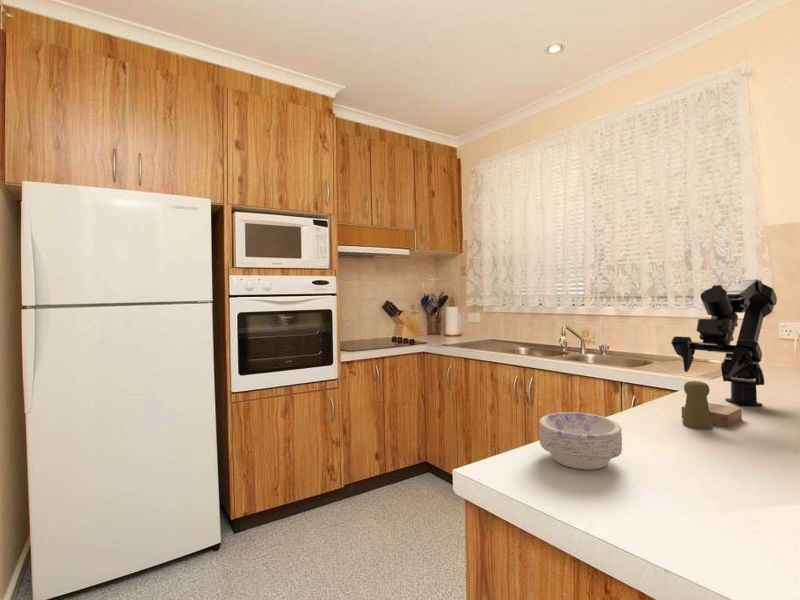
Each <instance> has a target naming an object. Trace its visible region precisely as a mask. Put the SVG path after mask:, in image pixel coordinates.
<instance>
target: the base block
mask: <svg viewBox="0 0 800 600" xmlns="http://www.w3.org/2000/svg"><path fill="white" fill-rule="evenodd" d="M708 406H709V412H710V417H711V423H712V425H715V426H718V427H724V428H729V427H731V426H733V425H735V424H736V423H739V422H740V421H742V419H743V416H742V415H743V413H742V411H743V410H742V407H739V406H738V407H737V406H732V405H725V404H718V403H714V402H712V403H711V402H708ZM684 411H685V405H683V406H681V419H683V418H684Z"/></svg>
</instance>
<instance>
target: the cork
mask: <svg viewBox="0 0 800 600" xmlns="http://www.w3.org/2000/svg"><path fill="white" fill-rule="evenodd" d="M683 390H684V393H685V394H686V396H685V397H686V399H685V405H684V406H685V411H684V418H682V426H684V427H686V428H689V429H693V430H701V431H702V430H703V431H704V430H705V431H707V430H712V429H713V424H712V423H711V417H710V412H709V406H708V403H709V402H708V395H709V394H710V387H709V385H708V384H707V383H705V382H702V381H698V380H697V381H695V380H694V381H692V380H691V381H687V382H685V383H684V385H683Z"/></svg>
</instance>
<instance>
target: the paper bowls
mask: <svg viewBox="0 0 800 600" xmlns="http://www.w3.org/2000/svg"><path fill="white" fill-rule="evenodd" d="M538 425H539V427H538V428H539V433H538V435H539V444H540V447H541V448H542V449H543V450H544V451H546V452H548V453H549V454H550V455H551V458H552V459H553V460H554V461H556V463H558V464H560V465H563V466H564V467H567V468H571V469H574V470H575V469H576V470H585V471H587V470H588V471H590V470H591V471H593V470H599V469H602V468H604V467H606V466H607V465H608V464H610V463H609V462H610V461H611V459H614V458H617V457H619V456H620V455H621V454H622V452H623V442H622V440H623V437H622V426H620V424H619V423H618V422H616V421H615V420H613V419H611V418H609V417H605V416H601V415H597V414H592V413H585V412H573V411H570V412H568V411H565V412H561V411H560V412H554V413H553V412H552V413H547V414H545V415H543V416H542V417H541V418H540V419H539V421H538Z"/></svg>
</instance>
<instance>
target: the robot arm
mask: <svg viewBox="0 0 800 600" xmlns="http://www.w3.org/2000/svg"><path fill="white" fill-rule="evenodd" d="M700 300H701V301H702V304H703V307H704V309H705V311H706V314H707V315H708V316H711V317H710V318H699V319H698V320H697V325H696V332H698V333H699V339H700V340H702V341H693V340H692V338H691V337H690V336H679V335H677V336H674V337H672V339H671V342H670V344H671V345H672V347H673V350H674V351H675V353H676V355H678V356H680V357H681V358H682V362H683V369H684V372H685V373H688V371H689V370H690V368H691V366H692V364H693V361H694V358H695V357H694V355H695V352H696V351H707V352H712V353H720V354H725V357H724V359H723V360H722V362H721V366H720V369H721V376H722V381H723V382H728V383H729V382H730V398H729V397H728V398H724V399H725V401H727V402H728V403H732V404H733V405H737V406H754V407H755V406H759V407H760V406H762V407H763V406H764V405H763V403H761V402H758V398H757V395H758V394H757V393H758V392H757V386H764V385H765V376H764V371H763V369H762V368H761V365H760V362H762V358H763V352H762V349H761V346H760V344H759V342H758V341H759V338H760V333H761V329H762V325H763V322H764V318H765V317H767V316H768V315H770V314H771V313H772V312H773V309H774V307H775V306H776V305H777V300H778V296H777V294H776V292H775V290H774V289H773V287H770V286H768V285H766V284H764V283H763V281H762V280H761V279H759V278H758V279H757V278H756V279H742V280H739V282H738V284H736V285H735V286H734V287H732V288H731V289H730V290H727V291H726V289H724V288H723V285H721V284H719V285H715V284H714V285H712V287H711V288H708V289H706V290H704V291H703V292H701V294H700ZM743 313H744V315H743V318H742V322H741V325H740V330H739V333H738V335H737V336H738V337H737V340H736V343H735V344H734V345H733V344H731V342H733V341H734V336H733V335H734V332H735V330H736V327H738V320H739V316H738V314H743Z"/></svg>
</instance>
